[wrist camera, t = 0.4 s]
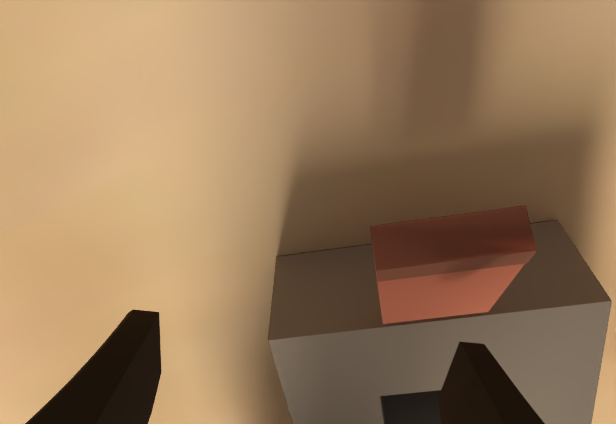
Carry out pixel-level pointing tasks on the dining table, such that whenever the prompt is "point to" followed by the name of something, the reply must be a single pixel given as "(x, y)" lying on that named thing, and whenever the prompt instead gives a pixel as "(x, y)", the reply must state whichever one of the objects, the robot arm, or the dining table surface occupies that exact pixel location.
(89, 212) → the dining table surface
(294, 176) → the dining table surface
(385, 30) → the dining table surface
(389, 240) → the bar
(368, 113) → the dining table surface
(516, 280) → the pin block
